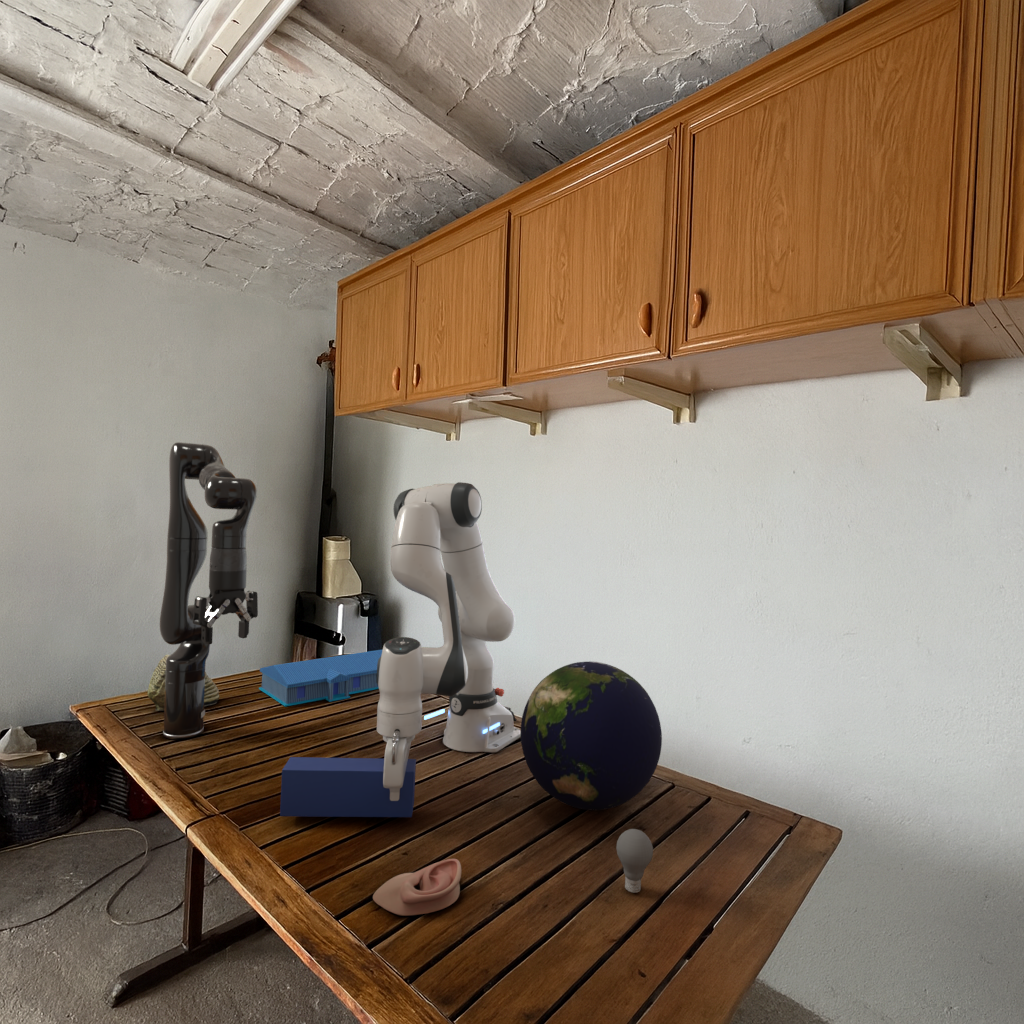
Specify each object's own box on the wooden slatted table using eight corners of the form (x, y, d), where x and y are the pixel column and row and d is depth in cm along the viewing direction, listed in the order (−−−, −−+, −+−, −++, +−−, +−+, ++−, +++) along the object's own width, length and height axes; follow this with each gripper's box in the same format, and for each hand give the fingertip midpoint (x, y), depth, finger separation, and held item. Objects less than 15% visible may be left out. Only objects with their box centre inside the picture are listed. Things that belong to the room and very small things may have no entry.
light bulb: (610, 879, 108) (613, 822, 108) (644, 879, 109) (647, 822, 109) (619, 902, 102) (622, 840, 102) (655, 901, 103) (658, 840, 103)
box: (279, 816, 122) (281, 769, 121) (288, 801, 128) (290, 756, 127) (411, 817, 124) (413, 771, 123) (414, 802, 130) (416, 758, 130)
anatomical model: (365, 883, 98) (393, 844, 109) (364, 909, 98) (392, 867, 109) (447, 898, 95) (468, 857, 106) (446, 924, 95) (467, 880, 106)
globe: (495, 817, 128) (501, 670, 127) (544, 763, 155) (549, 641, 155) (643, 855, 116) (651, 693, 116) (668, 789, 144) (674, 658, 144)
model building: (289, 709, 186) (291, 675, 185) (258, 688, 204) (259, 657, 204) (403, 687, 212) (405, 657, 212) (366, 670, 230) (368, 643, 230)
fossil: (144, 707, 182) (145, 655, 182) (212, 696, 194) (213, 647, 194) (151, 716, 175) (153, 662, 175) (221, 703, 188) (223, 653, 188)
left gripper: (208, 571, 132) (205, 649, 132) (266, 567, 144) (264, 638, 144) (187, 568, 136) (184, 643, 136) (245, 564, 148) (243, 633, 148)
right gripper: (411, 741, 116) (408, 816, 116) (418, 705, 136) (416, 768, 137) (376, 741, 115) (373, 816, 116) (388, 704, 136) (386, 768, 136)
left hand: (225, 640), depth 140 cm, fingers open, 8 cm apart
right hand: (396, 790), depth 126 cm, fingers closed on box, 6 cm apart
